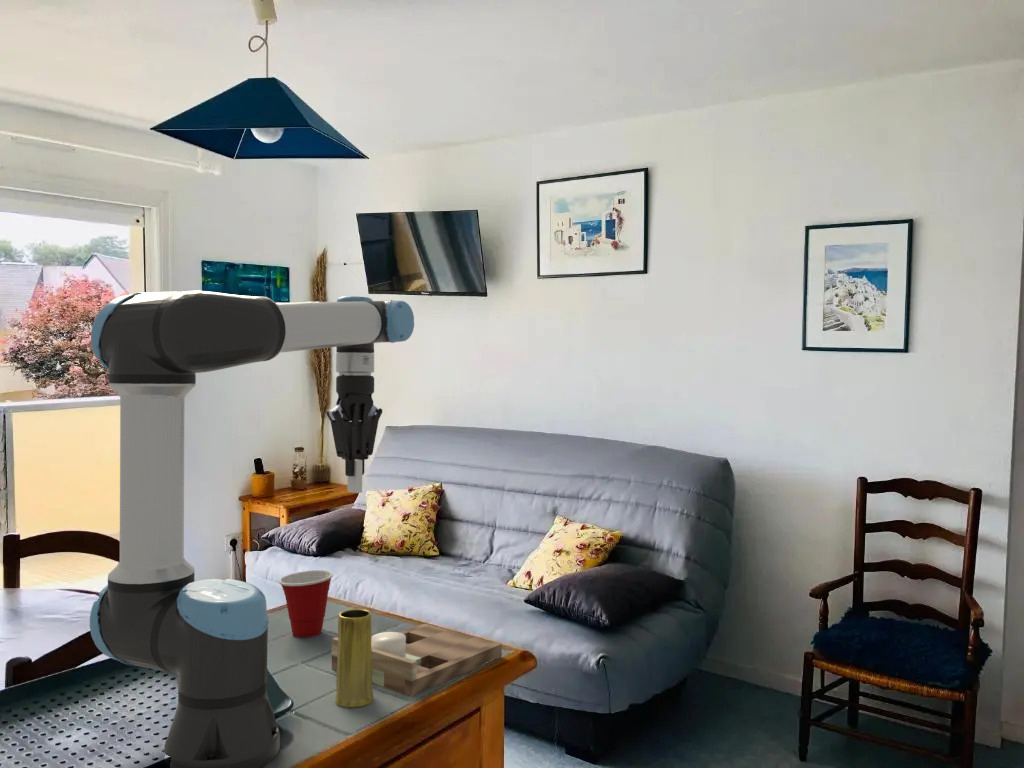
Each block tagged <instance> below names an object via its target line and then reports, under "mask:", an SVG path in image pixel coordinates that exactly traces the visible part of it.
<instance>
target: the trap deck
mask: <svg viewBox="0 0 1024 768" xmlns="http://www.w3.org/2000/svg"><path fill="white" fill-rule="evenodd" d="M397 632H398V633H402V634H404V635H405V636H406V658H404V657H401V656H398V655H394V654H391V653H388V652H385V651H381V650H378V649H375V648H371V649H372V684H374V685H375V686H376V685H377V686H379V687H383V688H386V689H389V690H392V691H395V692H397V693H400V694H403V695H406V696H409V697H414V696H416V695H418V694H420V693H423V692H426V691H428V690H429V689H432V688H434V687H436V686H439V685H441V684H444V683H447V682H448V681H450V680H452V679H456V678H457V677H460V676H462V675H463V673H464V674H466V673H468V671H469V672H470V670H471V671H473V670H475V668H476V669H478V668H480V667H481V665H482V666H484V665H483V664H484V663H486V662H489V661H491V660H493V659H496V658H498V657H501V656H503V655H502V652H503V649H502V648H503V647H502V646H503V644H502V643H501V642H496V641H492V640H490V639H489V640H488V639H485V638H480V637H477V636H473V635H470V634H465V633H462V632H458V631H455V630H451V629H448V628H447V629H446V628H443V627H438V626H435V625H431V624H429V623H428V624H427V623H422V624H419V625H416V626H413V627H410V628H407V629H405V630H401V631H397ZM337 656H338V636H337V637H333V638H331V670H333V671H336V672H337ZM501 658H502V657H501ZM498 659H499V658H498ZM496 660H497V659H496ZM489 663H490V662H489ZM479 666H480V667H479ZM477 667H478V668H477Z"/></svg>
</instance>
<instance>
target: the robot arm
mask: <svg viewBox="0 0 1024 768" xmlns="http://www.w3.org/2000/svg"><path fill="white" fill-rule="evenodd" d="M91 326H92V327H91V331H90V344H91V349H92V353H93V355H94V357H95V358H97V359H98V362H99V364H100V365H101V366H102V367H104V368H105V369H106V370H108V387H109V388H111V389H112V391H114V392H115V393H116V394H117V395H118V397H119V398H120V401H119V404H120V406H119V408H120V410H119V411H120V412H119V413H120V414H119V415H120V416H119V418H120V419H119V420H120V422H119V429H120V430H119V435H120V437H119V438H120V439H119V443H120V444H119V446H120V447H119V562H118V563H117V565H116V566H115V567H114V568H113V569H112V570H111V571H110V572H109V573H108V574H107V585H106V586H105V587H103V588H102V590H100V591H99V593H98V598H97V600H95V601H93V603H92V606H91V610H90V614H89V631H90V636H91V638H92V641H93V643H94V645H95V646H96V648H97V649H98V650H99V652H101V653H102V654H103V655H105V656H106V657H108V658H110V659H112V660H116V661H118V662H120V663H122V664H124V665H128V666H132V667H133V666H136V667H143V668H148V669H152V670H156V671H162V672H165V673H166V672H167V673H172V674H176V675H177V689H178V690H177V691H178V692H177V693H178V694H177V696H178V698H177V699H178V700H177V701H178V702H177V707H176V711H175V713H174V716H173V720H172V723H171V726H170V729H169V732H168V736H167V739H166V740H165V743H164V749H163V753H164V752H165V754H166V755H168V756H170V757H171V762H170V768H262V767H265V765H267V764H268V763H270V762H271V761H273V760H274V759H275V758H276V756H277V755H278V754H279V751H280V730H279V725H278V723H277V720H276V717H275V714H274V711H273V708H272V706H271V703H270V700H269V697H268V692H267V691H268V689H267V688H268V683H267V682H268V680H267V679H268V637H269V635H268V632H269V631H268V630H269V615H268V611H267V610H268V608H267V606H268V605H267V600H266V596H265V594H264V592H263V591H262V589H260V588H259V587H257V586H256V585H254V584H251V583H249V582H246V581H243V580H237V579H232V578H226V579H220V578H204V579H200V580H195V579H196V578H195V567H194V566H193V565H192V564H190V563H189V562H188V561H187V560H186V559H185V556H184V555H185V552H184V551H185V550H184V549H185V548H184V547H185V543H184V542H185V536H184V535H185V532H184V531H185V523H184V522H185V398H186V397H187V395H188V394H189V393H190V392H191V391H192V390H193V389H194V388H195V387H196V382H197V380H196V377H197V376H196V373H197V374H199V373H200V374H201V373H209V372H213V371H214V372H215V371H220V370H225V369H229V368H234V367H240V366H244V365H248V364H253V363H259V362H267V361H271V360H273V359H275V358H276V357H277V356H279V354H280V353H288V352H298V351H299V352H300V351H307V350H316V349H317V350H318V349H325V348H326V349H327V348H335V349H336V354H335V355H336V357H335V371H336V373H338V375H337V376H336V377H335V392H336V393H337V400H336V404H335V406H334V407H333V408H332V409H327V410H326V415H327V417H328V420H329V421H330V426H331V432H332V437H333V441H334V447H335V452H336V453H335V454H336V456H337V457H338V458H341V459H342V460H345V461H344V462H345V463H344V464H345V465H344V466H345V468H344V469H345V471H344V472H345V473H344V474H345V477H347V492H348V493H351V494H354V493H355V494H361V493H363V476H364V475H365V460H366V461H367V460H368V459H369V458H370V457H369V456H372V455H373V453H374V448H375V444H376V437H377V432H378V428H379V427H378V425H379V421H380V418H381V416H382V414H383V409H382V408H378V407H377V406H376V405H374V400H373V394H374V393H375V377H374V375H372V373H374V372H375V344H379V343H380V344H381V343H391V344H392V343H393V344H394V343H399V342H406V341H407V340H409V339H410V337H411V336H412V335H413V332H414V330H415V329H414V327H415V315H414V311H413V309H412V308H411V306H410V304H408V302H406V301H404V300H394V299H389V300H373V299H372V298H370V297H367V296H357V295H355V296H353V295H351V296H350V295H347V296H341V297H340V296H339V297H338V298H337V299H336V301H318V300H317V301H306V302H303V301H301V302H300V301H299V302H276V301H274V300H272V299H271V298H269V297H267V296H259V295H258V296H256V295H255V296H253V295H252V296H251V295H239V294H231V293H224V292H223V293H222V292H216V291H207V290H185V291H184V290H183V291H147V292H144V291H142V292H141V291H138V292H135V293H131V294H124V295H121V296H117V297H115V298H113V299H111V300H110V301H109V302H107V303H106V304H105V306H104V307H102V308H101V309H100V310H99V312H98V313H97V315H96V316H95V318H94V321H93V323H92V325H91Z"/></svg>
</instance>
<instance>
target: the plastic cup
mask: <svg viewBox="0 0 1024 768" xmlns="http://www.w3.org/2000/svg"><path fill="white" fill-rule="evenodd" d="M333 575H334V574H333V572H332V571H330V570H324V569H323V570H322V569H317V570H316V569H314V570H305V571H298V572H294V573H290V574H287V575H284V576H282V577H281V578H279V579H278V583H279V584H280V585H281V587H282V590H283V592H284V596H285V600H286V606H287V613H288V617H289V621H290V626H291V633H292V635H293V636H294V637H296V638H303V639H304V638H312V637H316V636H318V635H321V633H322V630H323V626H324V619H325V617H326V609H327V604H328V603H327V602H328V597H329V596H328V595H329V591H330V585H331V581H332V578H333Z"/></svg>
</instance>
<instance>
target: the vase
mask: <svg viewBox="0 0 1024 768" xmlns="http://www.w3.org/2000/svg"><path fill="white" fill-rule="evenodd" d="M337 619H338V621H337V625H338V626H337V628H338V629H337V630H338V631H337V633H338V635H337V637H338V656H337V671H336V680H335V681H336V686H335V687H336V696H335V699H334V701H335V703H336V705H337V706H339V707H342V708H347V709H356V708H362V707H365V706H368V705H370V704H371V703H372V702H373V701H374V698H375V697H374V691H373V683H372V649H371V638H372V612H371V610H368V609H365V608H351V609H346V610H343V611H341V612H340V613H338V618H337Z"/></svg>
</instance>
